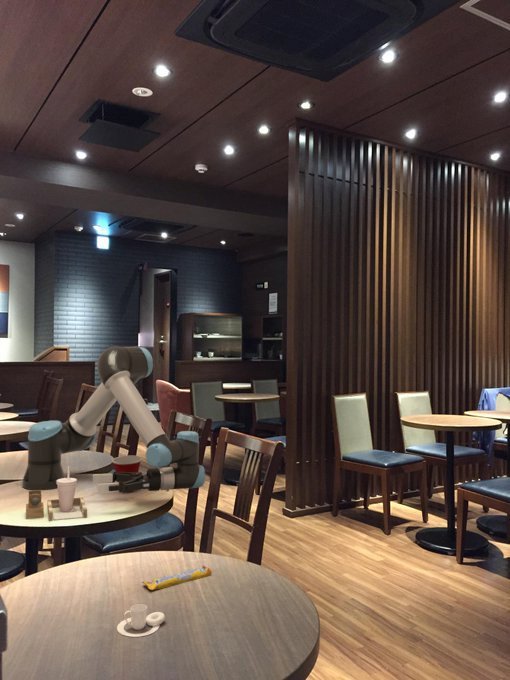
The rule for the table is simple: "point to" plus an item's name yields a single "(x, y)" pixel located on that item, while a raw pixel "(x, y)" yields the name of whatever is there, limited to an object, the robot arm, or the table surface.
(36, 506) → the winch
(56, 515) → the mat
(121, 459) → the plastic cup
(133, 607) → the teacup and saucer
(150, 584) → the candy bar
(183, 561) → the table surface
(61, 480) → the smoothie
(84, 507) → the bay
